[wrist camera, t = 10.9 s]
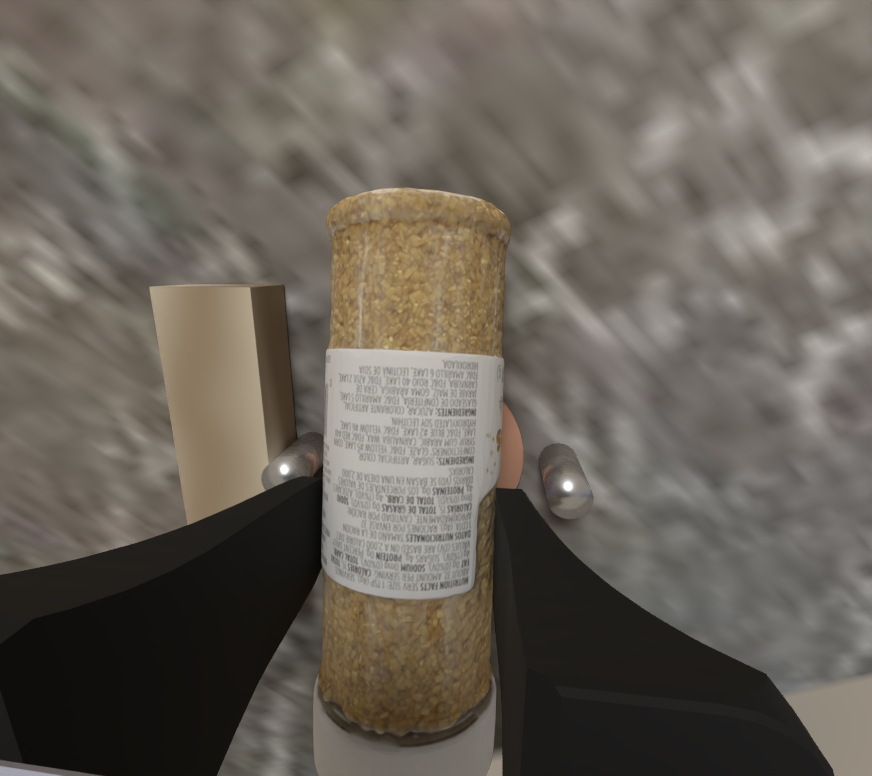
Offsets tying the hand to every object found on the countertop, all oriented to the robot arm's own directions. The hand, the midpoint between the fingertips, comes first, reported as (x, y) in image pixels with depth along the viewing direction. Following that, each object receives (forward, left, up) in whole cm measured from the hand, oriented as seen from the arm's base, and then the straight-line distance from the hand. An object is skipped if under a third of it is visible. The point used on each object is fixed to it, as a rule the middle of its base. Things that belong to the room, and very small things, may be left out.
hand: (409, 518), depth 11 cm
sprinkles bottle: (0, -7, -2) cm, 8 cm away
